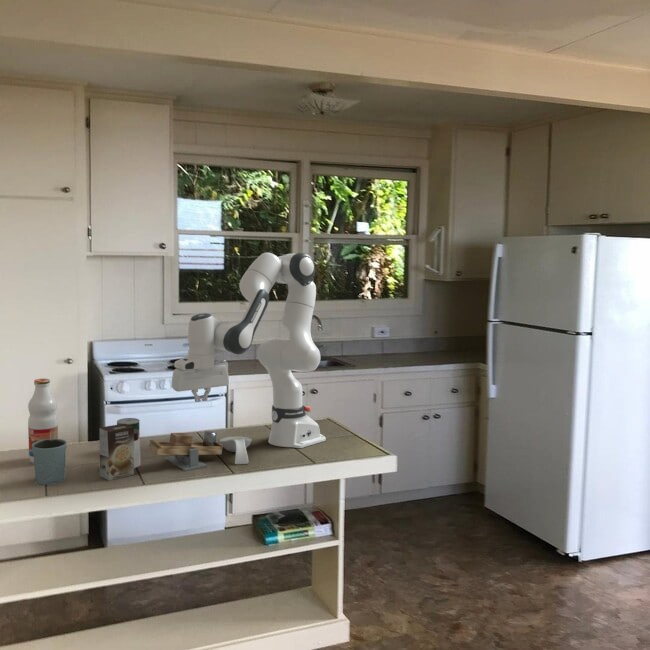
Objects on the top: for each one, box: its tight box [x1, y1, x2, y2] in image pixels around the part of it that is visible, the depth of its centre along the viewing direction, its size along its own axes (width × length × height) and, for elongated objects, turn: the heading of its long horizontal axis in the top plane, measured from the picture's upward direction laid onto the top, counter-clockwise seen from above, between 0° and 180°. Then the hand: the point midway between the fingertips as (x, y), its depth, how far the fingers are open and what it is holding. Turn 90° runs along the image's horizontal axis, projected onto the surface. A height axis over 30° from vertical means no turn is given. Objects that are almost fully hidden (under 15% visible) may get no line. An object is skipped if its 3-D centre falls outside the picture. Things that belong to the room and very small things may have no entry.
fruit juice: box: [27, 378, 59, 464], centre depth 241 cm, size 9×9×28 cm
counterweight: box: [202, 430, 218, 446], centre depth 248 cm, size 4×4×5 cm
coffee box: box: [99, 424, 135, 481], centre depth 229 cm, size 9×6×16 cm
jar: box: [134, 429, 141, 469], centre depth 238 cm, size 9×8×12 cm
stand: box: [166, 448, 207, 472], centre depth 243 cm, size 8×14×6 cm, turn 37°
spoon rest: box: [218, 436, 252, 465], centre depth 254 cm, size 24×12×7 cm, turn 15°
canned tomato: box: [116, 417, 141, 440], centre depth 255 cm, size 8×8×11 cm
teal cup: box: [32, 438, 67, 486], centre depth 223 cm, size 10×10×12 cm
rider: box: [168, 432, 194, 446], centre depth 241 cm, size 6×5×4 cm
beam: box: [148, 439, 224, 456], centre depth 243 cm, size 24×9×3 cm, turn 128°
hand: (201, 401), depth 244 cm, fingers closed
